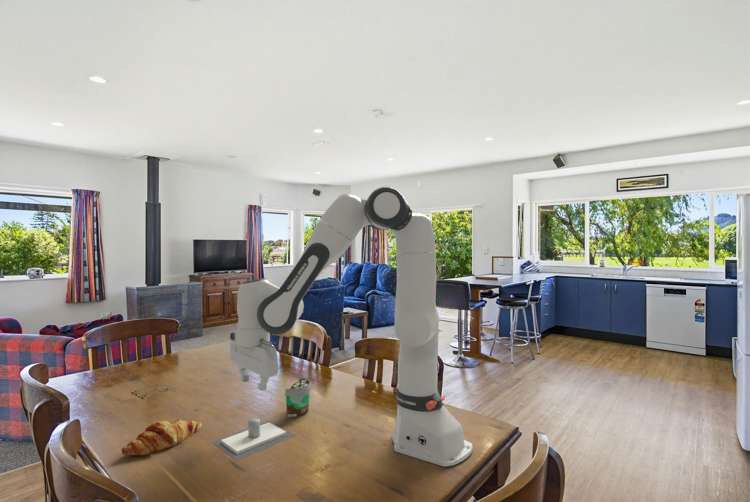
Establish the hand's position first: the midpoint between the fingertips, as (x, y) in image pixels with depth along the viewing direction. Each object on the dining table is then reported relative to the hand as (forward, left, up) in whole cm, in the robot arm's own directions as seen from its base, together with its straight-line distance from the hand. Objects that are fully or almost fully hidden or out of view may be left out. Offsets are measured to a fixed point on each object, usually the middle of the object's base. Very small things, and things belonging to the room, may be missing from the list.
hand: (253, 385), depth 112 cm
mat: (0, 0, -16) cm, 16 cm away
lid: (0, 0, -15) cm, 15 cm away
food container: (+5, -20, -16) cm, 26 cm away
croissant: (+16, +18, -16) cm, 29 cm away
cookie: (+62, +6, -16) cm, 64 cm away
